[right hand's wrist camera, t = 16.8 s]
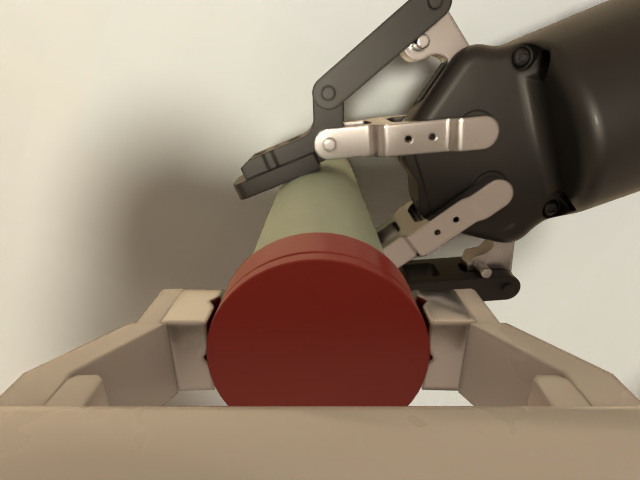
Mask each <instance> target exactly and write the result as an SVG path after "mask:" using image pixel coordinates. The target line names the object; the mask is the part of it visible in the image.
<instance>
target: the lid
mask: <svg viewBox="0 0 640 480" xmlns="http://www.w3.org/2000/svg"><path fill="white" fill-rule="evenodd" d="M206 356H207V364H208V368H209V372H210V376H211V378H212V381H213V383H214V386H215V387H216V389H217V391H218V392H219V394H220V396H221V397H222V398H223V400H224V401H225V402H226V403H227V405H228V406H408V405H409V404H410V403H411V402H412V400H413V399H414V398H415V396H416V395H417V393H418V392H419V390H420V388H421V386H422V384H423V382H424V379H425V376H426V374H427V371H428V365H429V360H430V342H429V335H428V331H427V328H426V325H425V322H424V319H423V317H422V315H421V313H420V310H419V308H418V306H417V303H416V301H415V299H414V297H413V294H412V292H411V290H410V288H409V286H408V284H407V282H406V279H405V277H404V276H403V275H402V273H401V272H400V270H399V269H398V268H397V266H396V265H395V264H394V263H393V262H392V261H391V260H390V259H389V258H388V257H386V256H385V255H384V254H383V253H381V252H380V251H379V250H377V249H375V248H374V247H372V246H370V245H369V244H367V243H364V242H362V241H360V240H358V239H355V238H352V237H348V236H345V235H340V234H334V233H321V232H313V233H302V234H297V235H292V236H288V237H285V238H282V239H279V240H276V241H274V242H272V243H270V244H268V245H266V246H264V247H263V248H261V249H260V250H258V251H257V252H255V253H254V254H252V255H251V256H250V257H249V258H248V259H247V260H246V261H245V262H244V263H243V264H242V265H241V266H240V267H239V269H238V270H237V271H236V272H235V274H234V276H233V277H232V279H231V281H230V282H229V285H228V287H227V289H226V291H225V293H224V296H223V298H222V300H221V302H220V304H219V307H218V309H217V311H216V313H215V315H214V318H213V320H212V323H211V325H210V328H209V332H208V336H207V345H206Z"/></svg>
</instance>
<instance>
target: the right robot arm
mask: <svg viewBox="0 0 640 480" xmlns="http://www.w3.org/2000/svg"><path fill="white" fill-rule="evenodd" d="M224 293H225V291H224V290H205V289H164V290H162V291H161V292H160V293H159V295H158V296H157V297H156V298H155V300H154V301H153V302H152V304H151V305H150V306H149V307H148V309H147V310H146V311H145V313H144V314H143V315H142V316H141V318H140V319H139V320H138V322H137V323H129V324H127V325H125V326H123V327H121V328H119V329H117V330H114V331H112V332H110V333H108V334H106V335H104V336H102V337H100V338H98V339H95V340H93V341H91V342H89V343H87V344H85V345H83V346H81V347H78V348H76V349H74V350H72V351H70V352H68V353H66V354H64V355H62V356H59V357H57V358H55V359H53V360H51V361H49V362H47V363H45V364H43V365H40V366H38V367H36V368H34V369H32V370H30V371H28V372H26V373H24V374H23V375H22V376H21V377H19V378H18V379H17V380H16V381H15V382H14V383H13V384H12V385H11V386H10V387H9V388H8V389H7V390H6V391H5V392H4V393H3V394H2V395H1V396H0V480H640V401H639V400H638V399H637V398H636V397H635V396H634V395H633V394H632V393H631V392H630V391H629V390H628V389H627V388H626V387H625V386H624V385H623V384H622V383H621V382H620V381H619V380H618V379H617V378H616V377H615V376H614V375H613V374H612V373H609V372H607V371H605V370H603V369H601V368H599V367H597V366H595V365H593V364H591V363H589V362H587V361H584V360H582V359H580V358H578V357H576V356H574V355H572V354H570V353H568V352H566V351H564V350H561V349H559V348H557V347H555V346H553V345H551V344H549V343H547V342H545V341H543V340H541V339H538V338H536V337H534V336H532V335H530V334H528V333H526V332H524V331H522V330H520V329H518V328H515V327H513V326H511V325H509V324H507V323H500V322H499V321H498V320H497V318H496V317H495V316H494V315H493V313H492V312H491V311H490V309H489V308H488V307H487V305H486V304H485V303H484V302H483V300H482V299H481V298H480V296H479V295H478V294H477V292H476V291H475V290H473V289H434V290H413V291H412V294H413V297H414V299H415V301H416V303H417V306H418V308H419V310H420V313H421V315H422V317H423V319H424V322H425V325H426V328H427V331H428V335H429V342H430V360H429V365H428V371H427V374H426V376H425V379H424V382H423V384H422V386H421V388H422V390H456V391H459V393H460V394H461V395H462V396H464V397H465V398H466V399H467V400H468V401H469V402H470V403H471V404H473V405H474V406H163V405H164V404H165V403H166V402H168V401H169V400H170V399H171V398H172V397H173V396H174V395H176V394H177V393H178V391H180V390H215V386H214V383H213V381H212V378H211V376H210V372H209V368H208V364H207V356H206V345H207V336H208V332H209V328H210V325H211V323H212V320H213V318H214V315H215V313H216V311H217V309H218V307H219V304H220V302H221V300H222V298H223V296H224Z"/></svg>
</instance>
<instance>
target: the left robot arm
mask: <svg viewBox="0 0 640 480" xmlns="http://www.w3.org/2000/svg"><path fill="white" fill-rule="evenodd" d="M451 4H452V0H408V1H407V2H406V3H405V4H404V5H403V6H401V7H400V8H399V9H398V10H397V11H396V12H395V13H394V14H392V15H391V16H390V17H389V18H388V19H387V20H386V21H384V22H383V23H382V24H381V25H380V26H379V27H378V28H376V29H375V30H374V31H373V32H372V33H371V34H370V35H369V36H367V37H366V38H365V39H364V40H363V41H362V42H361V43H359V44H358V45H357V46H356V47H355V48H354V49H353V50H352V51H350V52H349V53H348V54H347V55H346V56H345V57H344V58H342V59H341V60H340V61H339V62H338V63H337V64H336V65H334V66H333V67H332V68H331V69H330V70H329V71H328V72H327V73H325V74H324V75H323V76H322V77H321V78H320V79H319V80H318V81H317V82H316V83H315V85H314V87H313V91H312V95H313V117H314V119H313V124H312V126H311V128H310V129H309V130H308V131H307V132H305V133H304V134H301V135H299V136H297V137H294V138H292V139H289V140H287V141H285V142H282V143H280V144H277V145H275V146H273V147H270V148H268V149H265V150H263V151H261V152H258V153H256V154H254V155H253V156H252V157H251V158H250V159H249V160H248V161H247V162H246V163H245V164H244V166H243V167H242V168H241V170H242V172H243V174H244V175H243V176H241V177H239V179H238V180H237V181H236V182H235V183H234V184H233V185H234V187H235V189H236V191H237V193H238V195H239V197H240V199H241V200H243V199H246V198H249V197H252V196H254V195H257V194H259V193H262V192H264V191H267V190H269V189H272V188H274V187H277V186H279V185H282V184H284V183H287V182H289V181H292V180H294V179H296V178H298V177H300V176H304V175H307V174H309V173H312V172H314V171H317V170H319V169H320V162H323V161H325V160H335V159H345V158H356V157H367V156H376V157H391V156H398V159H399V161H400V162H401V164H402V165H403V167H404V168H405V170H406V171H407V173H408V180H409V193H410V196H411V200H410V201H409V202H407V203H406V204H404V205H403V206H402V207H400V208H399V209H398V210H396V211H395V212H394V214H393V215H392V217H391V218H390V219H389V220H388V221H387V222H385V223H384V224H383V225H381V226H380V227H378V228H377V229H376V233H377V235H378V238H379V240H380V243H381V246H382V248H383V251H384V254H385V256H386V257H388V258H389V259H390V260H391V261H392V262H393V263H394V264H395V265H396V266H397V268H398V269H399V270H400V272H401V273H402V275H403V276H404V277H405V279H406V282H407V284H408V286H409V288H410V290H411V292H412V291H413V290H434V289H473V290H475V291H476V292H477V294H478V295H479V296H480V298H481V299H482V300H483V301H492V300H506V299H510V298H513V297H514V296H515V295H517V293H518V292H519V290H520V282H519V280H518V279H517V278H516V277H515V276H514V275H513V274H512V272H511V268H512V259H513V250H514V241H516V240H519V239H520V238H522V237H524V236H525V235H526V234H527V233H528V232H529V231H530V230H531V229H532V228H534V227H535V226H536V225H538V224H539V223H541V222H542V221H544V220H546V219H549V218H552V217H557V216H562V215H567V214H572V213H577V212H581V211H584V210H587V209H590V208H592V207H595V206H598V205H601V204H604V203H607V202H610V201H612V200H615V199H618V198H621V197H624V196H627V195H630V194H632V193H635V192H638V191H640V0H609V1H606V2H604V3H601V4H599V5H597V6H594V7H592V8H590V9H587V10H585V11H583V12H580V13H578V14H575V15H573V16H571V17H568V18H566V19H563V20H561V21H559V22H556V23H554V24H551V25H549V26H547V27H544V28H542V29H540V30H537V31H535V32H532V33H530V34H528V35H525V36H523V37H520V38H518V39H516V40H513V41H511V42H508V43H506V44H503V45H500V46H488V45H482V44H475V45H470V46H469V44H468V43H467V41H466V39H465V38H464V36H463V34H462V33H461V31H460V29H459V28H458V26H457V24H456V23H455V21H454V19H453V18H452V16H451V14H450V13H449V9H450V7H451ZM399 54H400V55H401V57H402V58H403V59H404V60H406V61H408V62H416V61H420V60H423V59H425V58H427V57H428V56H434V57H436V58H438V59H439V60H440V61H441V62H442V63H441V65H440V66H439V67H438V69H437V70H436V72H435V73H434V75H433V76H432V78H431V79H430V81H429V82H428V84H427V85H426V87H425V88H424V90H423V91H422V93H421V94H420V95H419V97H418V98H417V100H416V101H415V103H414V104H413V106H412V107H411V109H410V110H409V112H408V113H407V115H397V116H387V117H376V118H369V119H365V120H356V121H346V122H344V101H345V100H346V99H347V98H348V97H350V96H351V95H352V94H353V93H354V92H356V91H357V90H358V89H359V88H360V87H361V86H363V85H364V84H365V83H366V82H367V81H369V80H370V79H371V78H372V77H373V76H374V75H376V74H377V73H378V72H379V71H380V70H381V69H383V68H384V67H385V66H386V65H387V64H389V63H390V62H391V61H392V60H393V59H394V58H396V57H397V56H398V55H399ZM459 233H462V234H466V235H470V236H474V237H479V238H483V239H485V240H484V242H483V243H482V244H481V245H479V246H477V247H473V248H468V249H466V250H465V251H464V252H463V255H462V257H450V258H437V259H423V260H411V259H412V258H414V257H417V256H419V257H422V256H426V255H428V254H429V253H431V252H432V251H434V250H435V249H437V248H438V247H440V246H441V245H443V244H444V243H446V242H447V241H449V240H450V239H452V238H453V237H455V236H456V235H458V234H459ZM409 260H410V261H409Z"/></svg>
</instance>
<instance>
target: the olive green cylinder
mask: <svg viewBox="0 0 640 480" xmlns="http://www.w3.org/2000/svg"><path fill="white" fill-rule="evenodd" d="M313 232H321V233H334V234H340V235H345V236H348V237H352V238H355V239H358V240H360V241H362V242H364V243H367V244H369V245H370V246H372V247H374V248H375V249H377V250H379V251H380V252H381V253H383V254H384V251H383V248H382V246H381V243H380V240H379V238H378V235H377V233H376V230H375V227H374V225H373V222H372V219H371V217H370V214H369V212H368V209H367V206H366V204H365V201H364V199H363V196H362V193H361V191H360V188H359V185H358V183H357V180H356V178H355V175H354V172H353V170H352V167H351V165H350V163H349V161H348V160H347V159H346V158H345V159H335V160H325V161H323V162H320V169H319V170H317V171H314V172H312V173H309V174H307V175H304V176H300V177H298V178H296V179H294V180H292V181H289V182H287V183H284V184H282V185H280V187H279V189H278V192H277V194H276V197H275V199H274V202H273V204H272V207H271V209H270V212H269V214H268V217H267V219H266V222H265V224H264V227H263V229H262V232H261V235H260V237H259V240H258V242H257V245H256V247H255V250H254V252H253V254H254V253H255V252H257V251H258V250H260V249H261V248H263V247H264V246H266V245H268V244H270V243H272V242H274V241H276V240H279V239H282V238H285V237H288V236H292V235H297V234H302V233H313ZM384 255H385V254H384Z"/></svg>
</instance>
